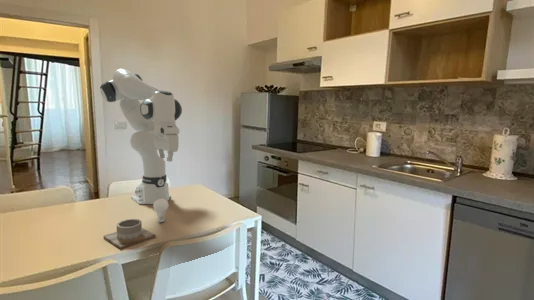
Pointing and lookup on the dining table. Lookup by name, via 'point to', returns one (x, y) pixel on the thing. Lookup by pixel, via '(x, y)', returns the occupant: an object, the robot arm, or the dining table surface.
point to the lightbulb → (160, 208)
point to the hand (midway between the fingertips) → (165, 159)
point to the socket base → (129, 242)
